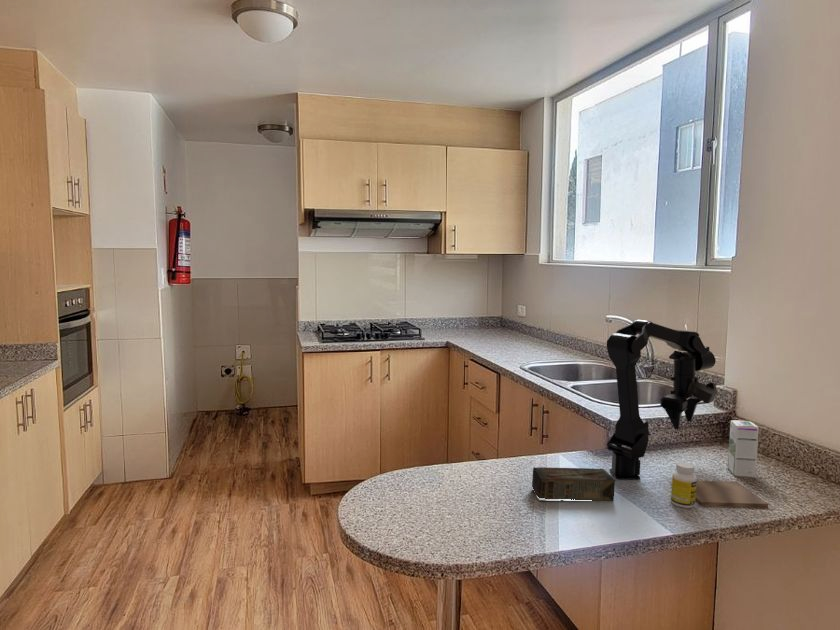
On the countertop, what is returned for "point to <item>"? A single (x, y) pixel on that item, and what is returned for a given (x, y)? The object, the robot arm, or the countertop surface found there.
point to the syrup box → (743, 448)
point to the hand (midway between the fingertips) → (683, 425)
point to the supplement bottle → (683, 485)
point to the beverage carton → (573, 484)
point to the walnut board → (726, 495)
